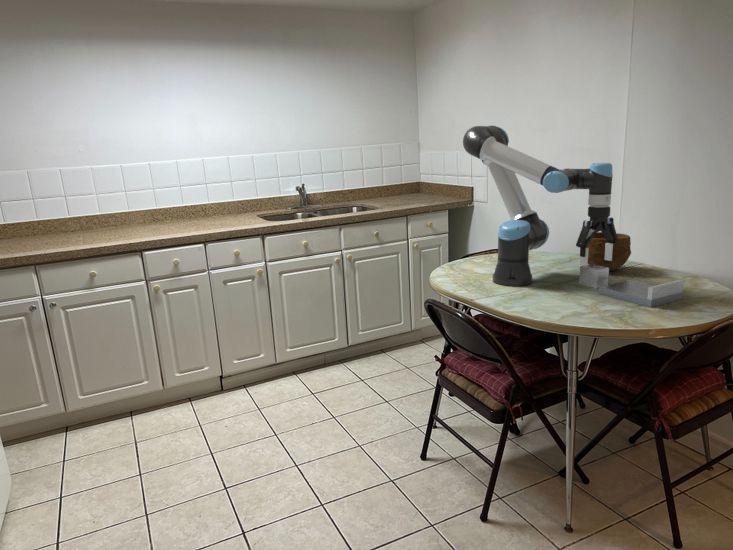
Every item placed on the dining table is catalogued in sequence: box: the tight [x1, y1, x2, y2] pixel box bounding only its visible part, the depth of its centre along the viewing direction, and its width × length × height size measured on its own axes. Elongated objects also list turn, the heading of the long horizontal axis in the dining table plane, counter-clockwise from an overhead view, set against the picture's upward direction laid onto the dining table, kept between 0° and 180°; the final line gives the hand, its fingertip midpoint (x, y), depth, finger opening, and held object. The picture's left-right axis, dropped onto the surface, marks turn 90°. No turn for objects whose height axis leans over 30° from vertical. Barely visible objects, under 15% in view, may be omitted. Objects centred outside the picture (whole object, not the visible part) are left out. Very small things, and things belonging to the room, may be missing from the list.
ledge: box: [598, 279, 685, 308], centre depth 189 cm, size 17×20×6 cm
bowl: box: [584, 231, 632, 272], centre depth 226 cm, size 19×19×15 cm
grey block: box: [578, 264, 610, 289], centre depth 205 cm, size 6×8×8 cm
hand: (596, 262), depth 203 cm, fingers open, 13 cm apart
